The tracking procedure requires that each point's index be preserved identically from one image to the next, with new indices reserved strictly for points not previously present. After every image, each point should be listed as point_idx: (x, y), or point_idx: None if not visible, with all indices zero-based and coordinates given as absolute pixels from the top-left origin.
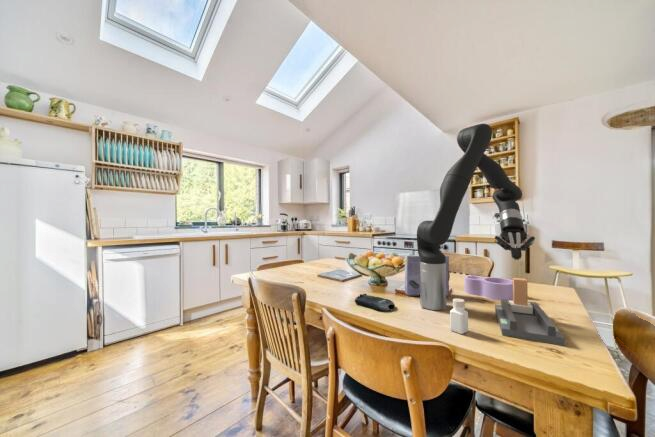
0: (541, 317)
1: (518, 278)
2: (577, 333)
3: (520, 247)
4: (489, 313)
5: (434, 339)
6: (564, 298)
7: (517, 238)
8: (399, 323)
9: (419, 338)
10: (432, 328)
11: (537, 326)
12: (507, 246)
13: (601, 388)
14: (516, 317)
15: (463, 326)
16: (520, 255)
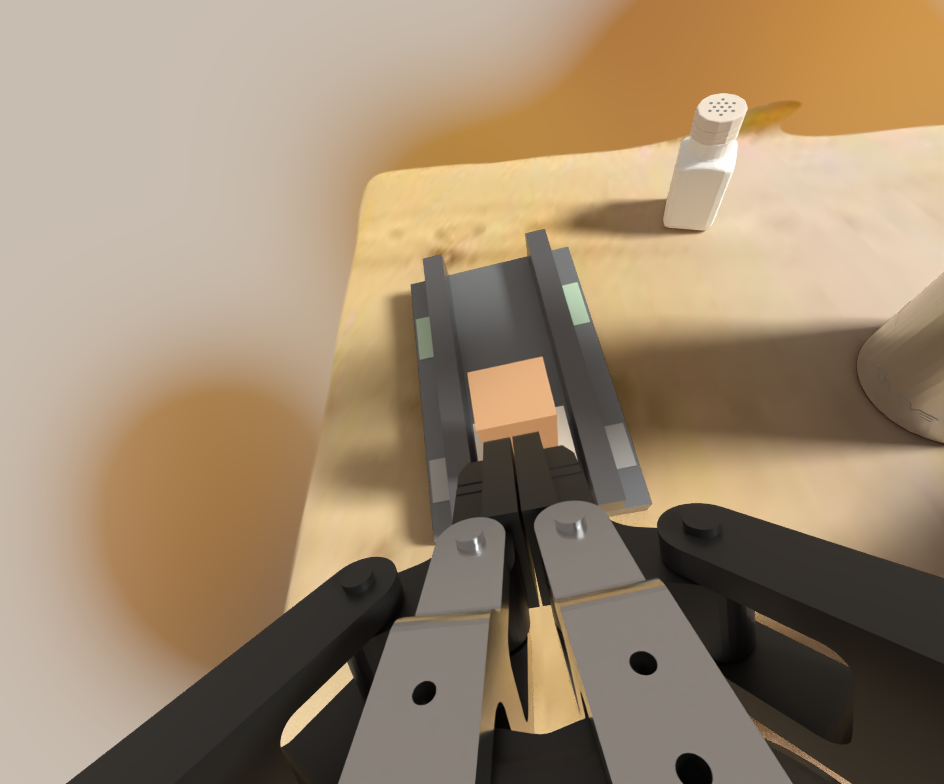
0: (451, 323)
1: (519, 408)
2: (363, 413)
3: (443, 535)
4: (655, 443)
5: None
6: None
7: (444, 738)
8: (886, 148)
9: (756, 118)
10: (767, 183)
11: (470, 325)
12: (678, 512)
13: (397, 172)
14: None
15: (671, 180)
16: (473, 464)
